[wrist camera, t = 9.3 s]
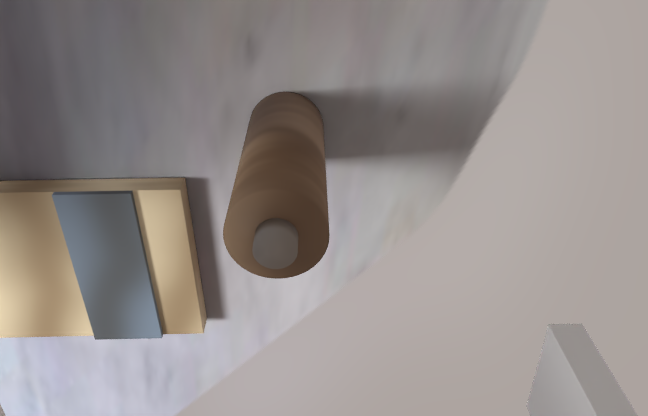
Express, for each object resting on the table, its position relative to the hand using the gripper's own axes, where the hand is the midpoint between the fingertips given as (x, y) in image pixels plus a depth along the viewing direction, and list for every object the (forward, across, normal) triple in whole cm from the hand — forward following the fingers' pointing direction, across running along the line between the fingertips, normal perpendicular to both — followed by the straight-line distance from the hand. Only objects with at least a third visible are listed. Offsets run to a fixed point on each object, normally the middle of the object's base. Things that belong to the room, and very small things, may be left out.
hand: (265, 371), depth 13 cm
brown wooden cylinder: (+15, 0, 0) cm, 15 cm away
